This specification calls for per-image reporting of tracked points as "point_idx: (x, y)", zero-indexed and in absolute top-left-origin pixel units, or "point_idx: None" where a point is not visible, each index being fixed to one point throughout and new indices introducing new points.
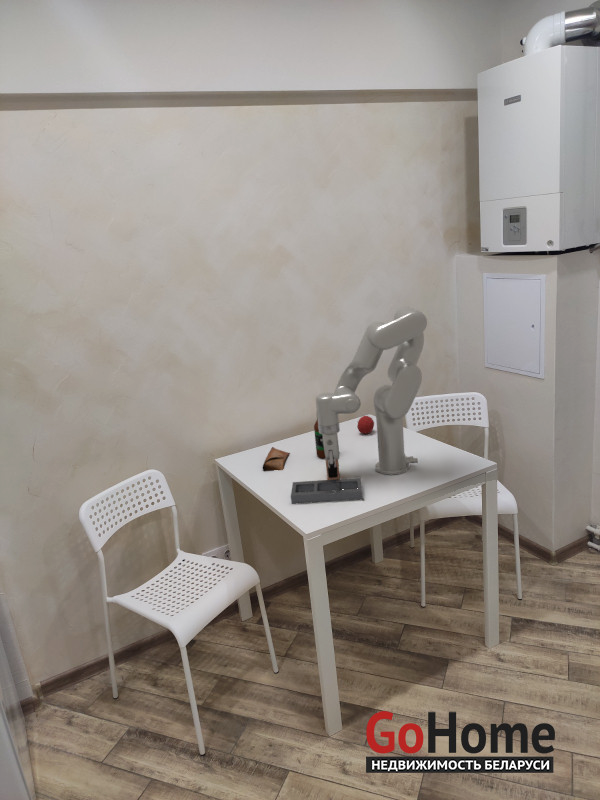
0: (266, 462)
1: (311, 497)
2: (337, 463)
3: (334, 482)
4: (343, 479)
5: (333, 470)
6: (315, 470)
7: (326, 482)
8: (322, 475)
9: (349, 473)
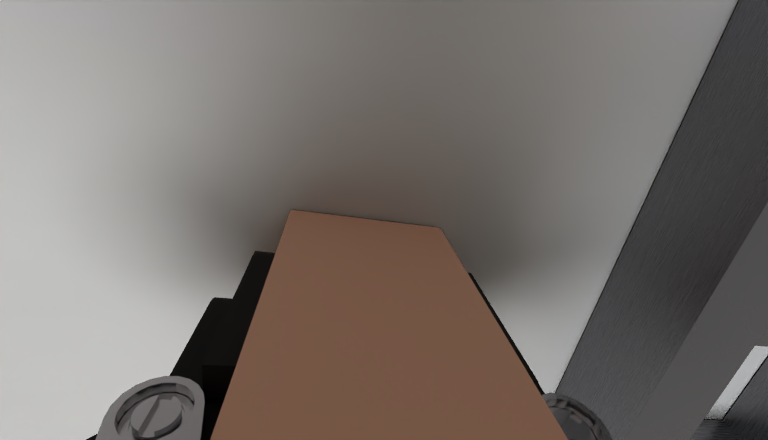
0: None
1: None
2: (545, 421)
3: (739, 355)
4: (754, 252)
5: None
6: None
7: (693, 428)
8: None
9: (281, 65)
